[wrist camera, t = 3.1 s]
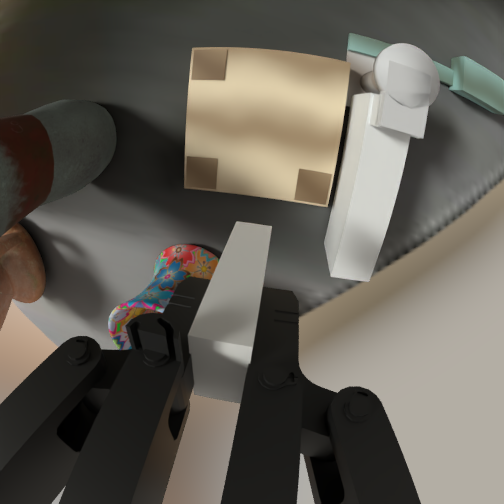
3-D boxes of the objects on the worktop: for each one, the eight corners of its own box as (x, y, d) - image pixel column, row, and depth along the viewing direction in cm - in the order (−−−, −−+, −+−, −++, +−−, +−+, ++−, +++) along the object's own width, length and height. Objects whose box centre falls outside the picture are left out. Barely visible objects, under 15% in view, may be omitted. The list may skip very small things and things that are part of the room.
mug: (209, 222, 26) (167, 290, 17) (250, 296, 30) (233, 376, 21) (124, 260, 30) (74, 320, 21) (166, 319, 34) (134, 384, 25)
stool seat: (205, 8, 16) (175, -21, 10) (495, 83, 14) (540, 88, 8) (191, 181, 24) (160, 209, 18) (463, 229, 23) (497, 265, 17)
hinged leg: (351, 55, 17) (380, 34, 10) (397, 68, 17) (442, 57, 10) (319, 242, 25) (328, 294, 19) (359, 248, 25) (380, 300, 18)
